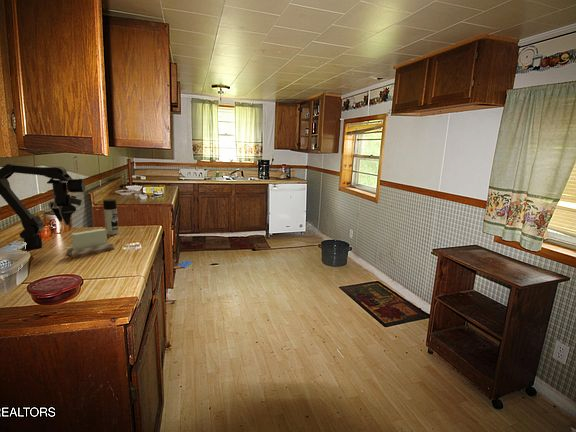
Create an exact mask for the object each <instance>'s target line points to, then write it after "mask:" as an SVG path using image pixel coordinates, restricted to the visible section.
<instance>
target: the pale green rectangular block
mask: <svg viewBox="0 0 576 432" xmlns="http://www.w3.org/2000/svg"><path fill="white" fill-rule="evenodd" d="M107 241H108V234H107V233H106V228H97V229H92V230H85V231H80V232H73V233H71V243H72V247H73V251H74V250H79V249H84V248H89V247H94V246H99V245H104V244H107Z"/></svg>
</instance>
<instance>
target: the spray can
mask: <svg viewBox="0 0 576 432" xmlns="http://www.w3.org/2000/svg"><path fill="white" fill-rule="evenodd" d="M102 203H103V215H104V225H105V230H106V233H107V236H108V235H109V236H111V235H113V236H114V235H118V234H120V233H119V232H120V230H119V218H118V208H117V200H116V199H109V198H108V199H104V200H103V201H102Z"/></svg>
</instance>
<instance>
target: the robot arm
mask: <svg viewBox="0 0 576 432" xmlns="http://www.w3.org/2000/svg"><path fill="white" fill-rule="evenodd" d="M67 171H68V170H67V169H66V168H65V167H63V166H46V167H45V166H35V165H34V166H32V165H26V164H24V165H23V164H15V163H7V164H5V165H4V166H3V167H1V168H0V196H1V198H2V199H3V200H4V201H5V202H6V203H7V205H8V206H9V207H10V208H11V210H12V211H13V212H14V213H15V214H16V215H17V216H18V218H19V219H20V222H21V226H22V227H23V230H22V231H21V232H20V233H19V234H18V235H19V237H20V238H21V239H22V242H23V241H24V242H26V243H27V245H26V250H25V251H30V250H36V249H41V248H43V242H42V241H43V240H42V239H43V238H42V237H41V236H40V233H41V232H42V231H43V229H44V227H45V223H44V220H42V218H41V217H40V215H39V214H37V215H34V214H33V213H31V212H30V210H29V209H28V208H27V206H25V204H24V203H23V202H22V201H21V199H19V197H18V196H17V194H15V192H14V191H13V190H12V189H11V185H10V184H11V183H10V181H9V178H11V177H12V176H13V175H14V174H23V175H24V174H25V175H33V176H34V175H36V176H42V177H45V178H49V180H48V181H47V182H46V184H48V185H49V184H52V191H53V194H52V195H51V196H52V197H53V200H52V201H49V203H48V207H49V210H51V211H52V213H53V214H54V216H55V217H56V219H57V221H58V222H60V223H61V222H64V224H65V225H66V226H68V225H70V221H71V217H72V215H73V214H74V213H75V212H77V207H76V206H75V205H77V206H79V207H80V206H81V205H82V202H83V199H80V198H77V196H76V195H70V194H69V193H68V192H70V193H85V192H86V183H85V181H84V179H83V178H72V177H71V175H70V174H68V172H67Z"/></svg>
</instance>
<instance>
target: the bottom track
mask: <svg viewBox="0 0 576 432" xmlns="http://www.w3.org/2000/svg"><path fill="white" fill-rule="evenodd" d="M113 250H115V246H114V243H113V242H111V243H109V242H108V240H107V244H104V245H99V246H94V247H89V248H84V249H79V250H74V251H73V246H71V247H70V246H68V247H66V251H65V253H66V254H67V255H68V256H70V257H72V258H73V259H76V258H81V257H84V256H90V255H94V254H99V253H103V252H108V251H109V252H110V251H113Z"/></svg>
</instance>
